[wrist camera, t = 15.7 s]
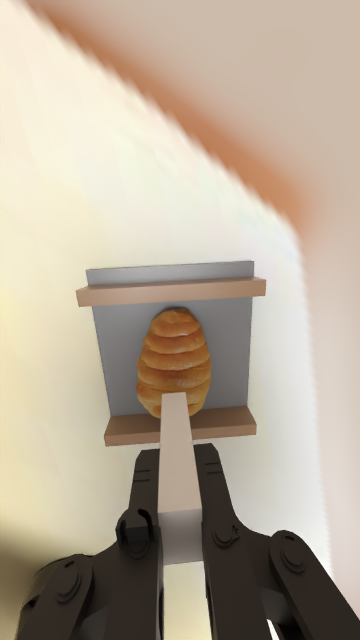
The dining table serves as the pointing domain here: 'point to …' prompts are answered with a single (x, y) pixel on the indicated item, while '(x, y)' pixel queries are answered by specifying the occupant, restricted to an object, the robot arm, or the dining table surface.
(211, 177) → the dining table surface
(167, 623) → the dining table surface
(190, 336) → the pastry
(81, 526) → the dining table surface
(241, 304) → the pastry holder
